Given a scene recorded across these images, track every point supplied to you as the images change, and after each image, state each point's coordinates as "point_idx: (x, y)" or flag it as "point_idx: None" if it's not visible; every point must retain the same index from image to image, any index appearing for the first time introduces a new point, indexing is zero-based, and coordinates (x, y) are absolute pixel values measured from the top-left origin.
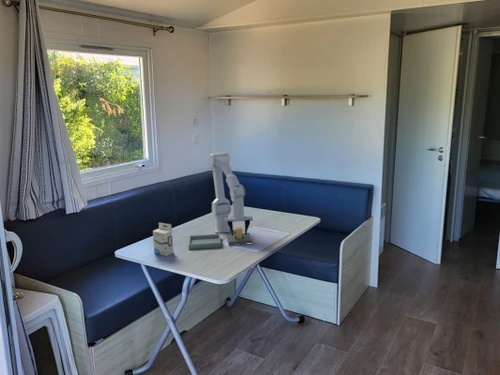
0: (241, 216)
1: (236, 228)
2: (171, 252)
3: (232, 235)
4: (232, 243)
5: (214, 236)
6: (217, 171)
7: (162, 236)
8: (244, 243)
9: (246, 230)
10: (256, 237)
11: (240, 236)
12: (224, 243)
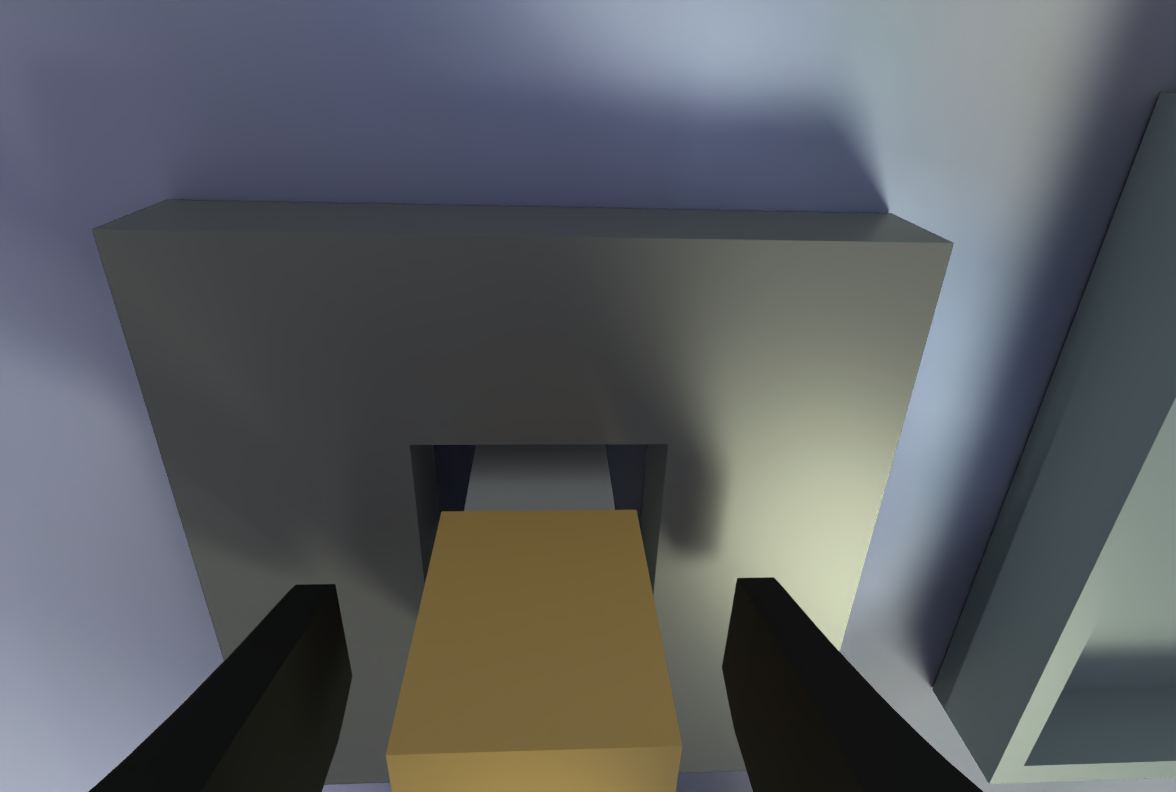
0: None
1: None
2: None
3: (767, 581)
4: (795, 224)
5: (1084, 720)
6: None
7: None
8: (405, 212)
9: (209, 704)
10: (120, 640)
11: (507, 515)
12: (941, 398)
